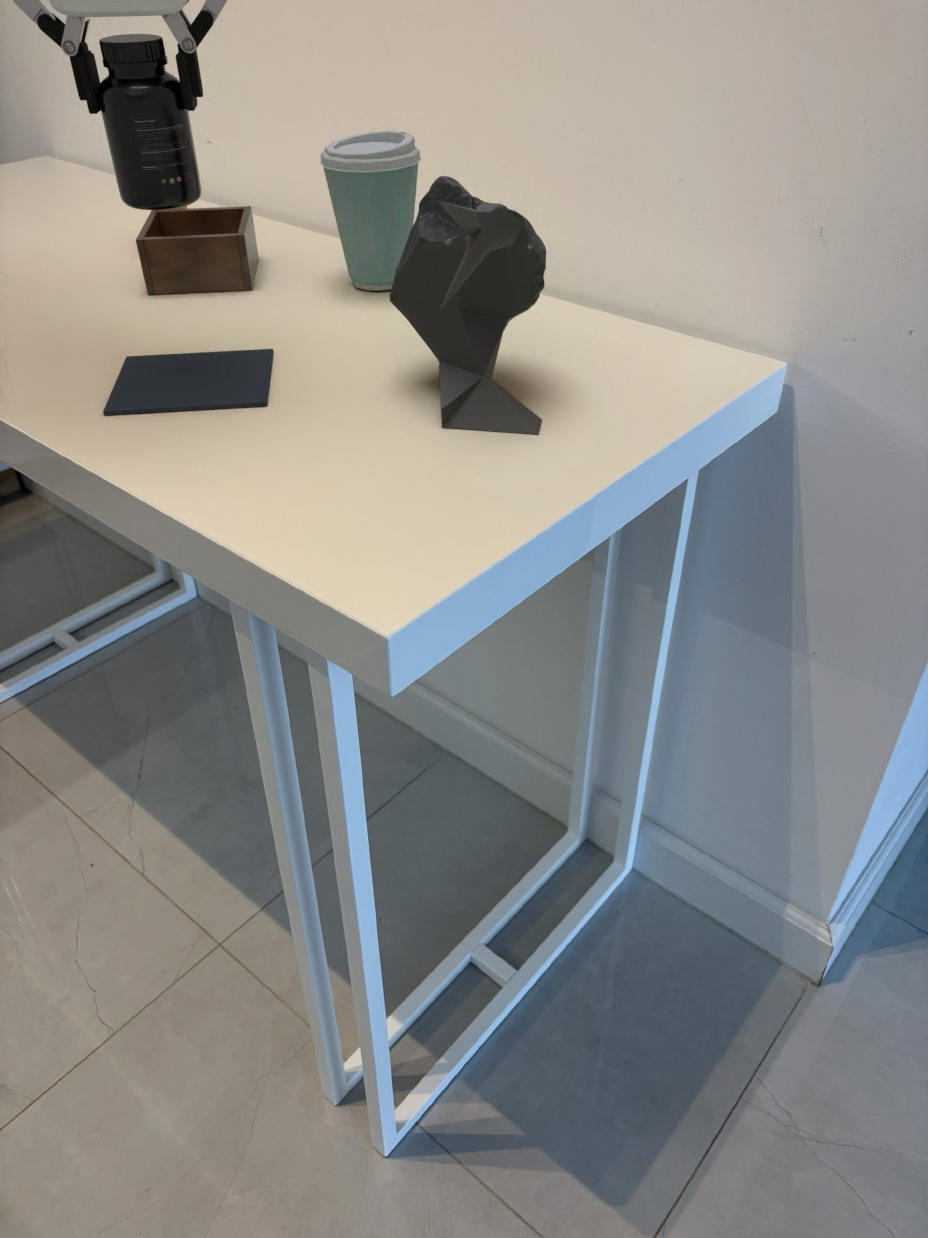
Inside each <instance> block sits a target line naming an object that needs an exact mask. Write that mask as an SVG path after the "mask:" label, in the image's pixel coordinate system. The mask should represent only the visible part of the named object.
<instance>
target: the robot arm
mask: <svg viewBox="0 0 928 1238" xmlns="http://www.w3.org/2000/svg"><path fill="white" fill-rule="evenodd" d="M12 1H13V3H14V4H15V5H16V6H17V7H18V8H19V9H20V10H21V12H23V13H24V14H25V15H26V16H27V17H28V18H29V19H30V21H32V22H34V23H35V24H36V25H37V27H38V29H39V30H40V31H41V32H42V33H44V35H46V36H47V37H48V38H49V39H51V41H52V42H54V43H55V44H56V45H57V46H58V47H59V48H60V49H61V50H62V52H63V53H64V54H65V55H66V56H68V57H69V61H70V66H71V70H72V74H73V78H74V83H75V88H76V91H77V95H78V98H79V100H80V101H85V102H86V105H87V109H88V113H89V115H94V114H95V115H97V114H98V113H99V112H101V109H100V104H99V99H98V88H99V85H100V83H101V79H100V76H99V70H98V65H97V61H96V57H95V53H94V52H92V50H89V49H90V48H89V46H88V43H87V37H88V34H89V28H90V24H91V20H92V18H114V17H115V18H117V17H119V18H120V17H123V18H124V17H155V16H156V17H157V16H158V17H159V16H161V17H162V19H163V21H164V22H165V25H166V26H167V27H168V29H169V30H170V32H171V34H172V36H173V37H174V39H175V40H176V42H177V44H176V45H177V53H176V54H175V62H176V67H177V68H176V69H177V73H178V80H179V81H180V86H181V92H182V98H183V103H184V108H185V109H187V111H188V112H195V110H196V108H197V107H198V98H203V97H204V88H203V83H202V76H201V69H200V63H199V56H198V51H197V49H198V47H199V46H200V44H201V43H202V42H203V40H204V39H205V37H206V35H208V33H209V32H210V30H211V28H212V27H213V26H214V25H215V22H216V21H217V19H218V17H219V16H220V14H221V13H222V11H223V9H224V7H225V6H226V4H227V2H228V0H205V2H204V4H203V5H202V7H201V9H200V11H199V12H198V14H197V15H196V17H195V18H194V20H193V21H192V22H191V21H190V19H189V18H188V16H187V15H186V13H185V11H184V10H183V8H184V7H185V6H186V5H187V4H188V3H189V2H190V0H48V2H49V4H50V6H51V7H52V9H54V10H55V11H56V12H58V13H60V14H62V15H64V16H66V19H65V22H64V21H62V19H60V18H59V17H58V16H57V15H56V14H54V13H53V12H51V11H50V10H49V9H48V8H47V7H46V5H44V3H43V2H42V1H41V0H12Z"/></svg>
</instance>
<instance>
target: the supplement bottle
mask: <svg viewBox="0 0 928 1238" xmlns="http://www.w3.org/2000/svg"><path fill="white" fill-rule="evenodd" d="M98 42H99V48H100V52H101V57H102V60H101V61H102V65H103V67H104V68H106V69H107V72H108V75H107V76H105V78H103V79H102V81H100V85H99V88H98V99H99V104H100V109H101V110H100V112H101V117H102V122H103V126H104V130H105V135H106V139H107V145H108V148H109V149H108V150H109V153H110V157H111V162H112V167H113V171H114V174H115V175H114V176H115V179H116V184H117V187H118V192H119V196H120V199H121V201H122V202H123V203H124V204H125V205H126V206H128V207H130V208H131V209H132V208H133V209H137V210H142V211H152V210H166V209H174V208H179V207H183V206H187V207H188V206H190V205H192V204H194V203H196V202H197V201H199V199H200V198H201V195H202V184H201V178H200V170H199V165H198V160H197V154H196V153H197V152H196V148H195V142H194V136H193V131H192V125H191V119H190V118H191V117H190V113H189V112H190V111H187V109H185V108H184V103H183V98H182V92H181V86H180V80H179V78H177V77H176V76H175V75H173V74H171V73H170V72H168V71H167V70H166V65H168V64H169V60H168V56H167V55H166V49H165V44H164V39H163V37H162V35H157V34H152V33H126V34H115V35H108V36H105V37H101V38H99V40H98Z"/></svg>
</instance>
